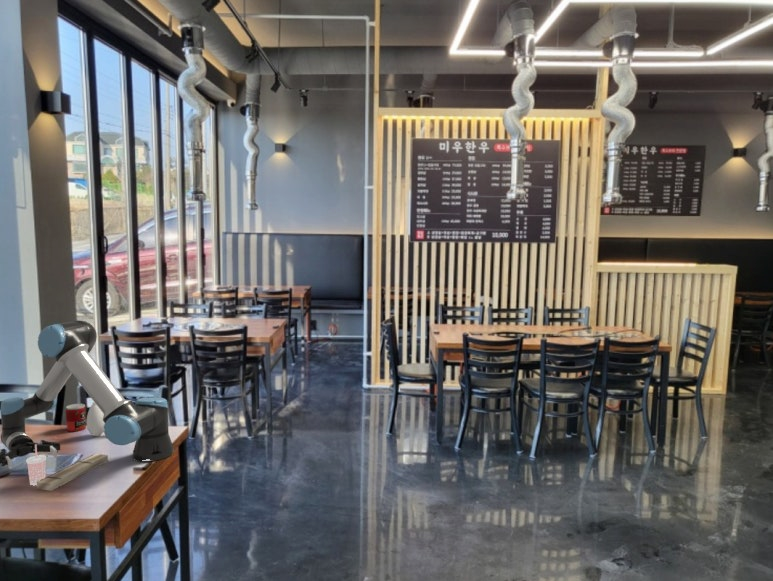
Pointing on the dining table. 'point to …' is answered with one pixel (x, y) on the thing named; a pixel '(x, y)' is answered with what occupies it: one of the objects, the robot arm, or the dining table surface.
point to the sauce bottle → (95, 420)
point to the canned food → (75, 417)
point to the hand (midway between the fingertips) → (34, 459)
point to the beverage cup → (36, 467)
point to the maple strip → (71, 472)
